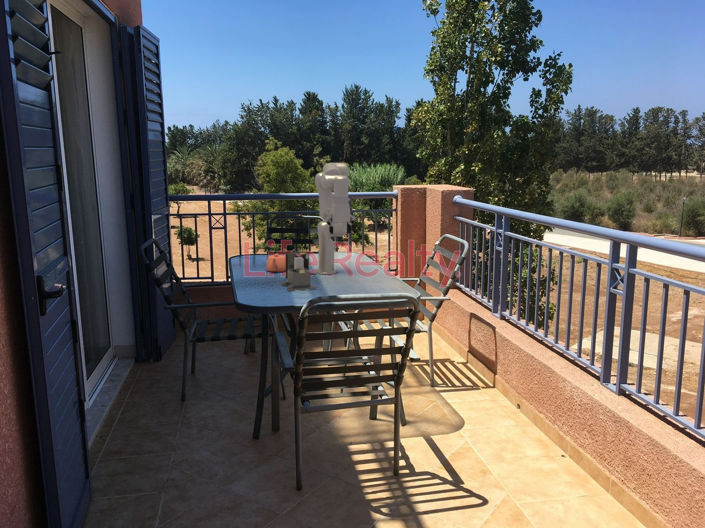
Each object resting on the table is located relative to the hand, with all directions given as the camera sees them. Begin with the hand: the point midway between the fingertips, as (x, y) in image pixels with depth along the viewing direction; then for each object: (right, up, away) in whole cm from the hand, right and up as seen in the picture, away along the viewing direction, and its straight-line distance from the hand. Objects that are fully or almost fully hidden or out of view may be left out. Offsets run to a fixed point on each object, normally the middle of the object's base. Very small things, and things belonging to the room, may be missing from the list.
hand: (340, 233), depth 296 cm
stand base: (-23, -29, +10) cm, 38 cm away
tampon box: (-26, -25, +30) cm, 46 cm away
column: (-23, -29, +10) cm, 38 cm away
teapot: (-40, -21, +46) cm, 65 cm away
